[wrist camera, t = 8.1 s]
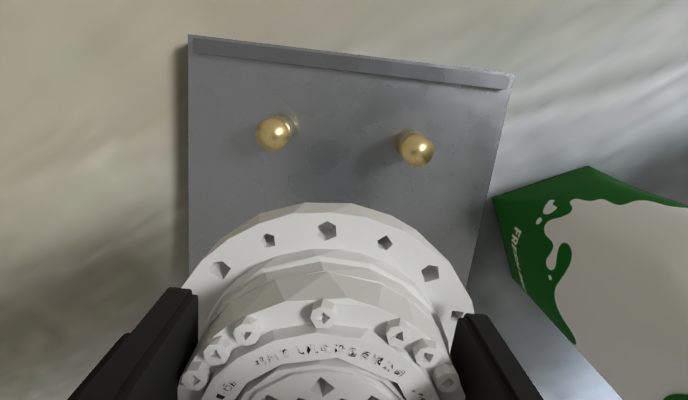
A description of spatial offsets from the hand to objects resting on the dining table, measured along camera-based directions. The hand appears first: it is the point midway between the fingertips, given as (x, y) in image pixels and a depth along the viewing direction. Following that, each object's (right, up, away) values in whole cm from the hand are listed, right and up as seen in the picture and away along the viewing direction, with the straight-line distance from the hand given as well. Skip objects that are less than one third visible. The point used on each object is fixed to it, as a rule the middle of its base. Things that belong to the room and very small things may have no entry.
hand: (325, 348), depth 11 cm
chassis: (0, +5, +17) cm, 18 cm away
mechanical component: (0, -1, +3) cm, 3 cm away
